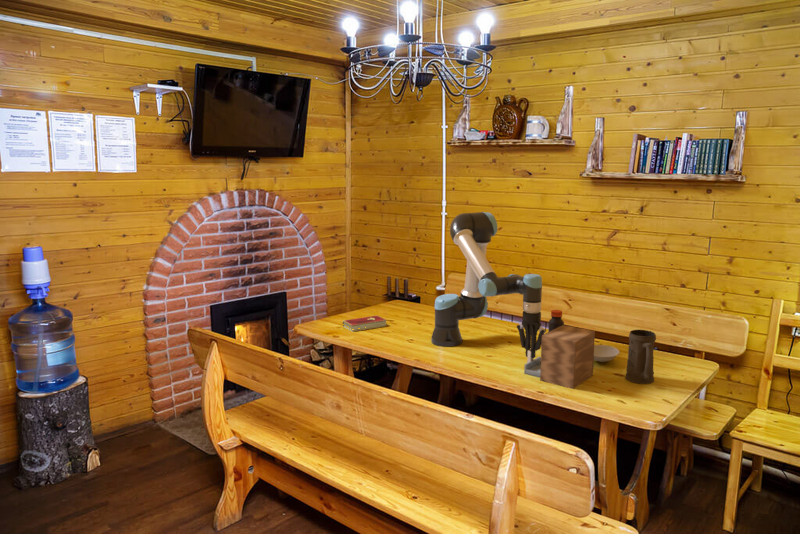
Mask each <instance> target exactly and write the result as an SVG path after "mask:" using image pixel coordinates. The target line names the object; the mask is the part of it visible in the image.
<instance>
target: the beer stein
mask: <svg viewBox="0 0 800 534" xmlns="http://www.w3.org/2000/svg"><path fill="white" fill-rule="evenodd" d="M628 338H629V339H628V340H629V342H628V343H629V344H628V352H627V361H626V370H625V371H626V373H625V379H626V380H627V381H629V382H632V383H633V384H639V385H640V384H641V385H647V384H648V385H649V384H652V383H654V381H655V377H654V374H655V372H654V346H655V342H656V340H657V335H656V333H655V332H653V331H651V330H646V329H633V330H630V332H629V334H628Z"/></svg>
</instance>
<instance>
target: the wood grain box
mask: <svg viewBox="0 0 800 534" xmlns="http://www.w3.org/2000/svg"><path fill="white" fill-rule="evenodd" d="M595 334H596V330H592V329H587V328H586V329H585V328H579V327H574V326H568V325H565V324H564V325H562V326H560V327H558V328H556V329H554V330H552V331H550V332H548V331H547V332H545V333H544V334H543V335H542V342H541V347H540V349H541V350H540V357H541V372H540V377H539V381H540V382H545V383H548V384H553V385H556V386H560V387H563V388H569V389H571V390H573V389H575V388H578V386H580V385H581V384H583V383H584V382H585V381H587V380H588V379H590V378H591V377H593V375H594V362H595V360H594V345H595V337H596V336H595Z"/></svg>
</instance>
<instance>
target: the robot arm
mask: <svg viewBox="0 0 800 534" xmlns="http://www.w3.org/2000/svg"><path fill="white" fill-rule="evenodd" d="M449 225H450V226H449V235H450V238H451V239H452V241H453V244H455V245H456V246H458V247H459V249H460V251H461V252H462V254H463V256H464V257H465V260H466V269H465V278H464V279H465V280H464V288H463V289H461V290H460V295H458V294H456V293H446V294H441V295H439V296H437V297H436V298H435V299H434V300H435V301H434V328H433V331H432V334H431V338H430V340H431V341H430V342H431V343H432V344H433V345H434V346H435V345H436V346H439V347H454V346H459V345H461V344H462V343H463V337H462V334H461V331H460V328H459V325H460V324H459V322H460V321H463V320H470V319H478V318H482V317H483V316H485V314H486V313H487V311H488V308H489V307H488V306H489V303H488V298H487V297H496V296H502V295H512V294H519V295H523V297H522V310H523V311H522V322H521V323H520V324H517V325H516V328H517V330H518V334H519V340H520V345H521V349H524V350H525V358H527V359H526V361H527V362H526V363H528V362H530V361H532V360H534V359H536V352H537V351H538V350H540V349H541V342H542V335H543V334H546V333H547V329H546V328H543V327H542V323H541V320H542V312H541V311H542V295H543V291H542V290H543V277H542V276H541V275H540V274H535V273H526V274H524V276H522V275H519V274H514V273H511V274H509V275H506V276H502V277H501V276H500V277H498V275H497V274H496V272H495V270H494V269H493V266H491V264H490V262H489V261H488V259H487V257H486V256H487V248H488V244H490V243H491V241H492V237H495V236H496V234H497V233H498V222H497V220H496V217H495V216H494V215H493V213H491V212H488V211H487V212H484V211H481V212H480V211H478V212H462V213H459V214H458V215H456V216H455V217H454V218H453V219H452V220H451V223H450V224H449ZM538 332H539V333H538ZM537 335H538V336H537Z"/></svg>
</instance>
